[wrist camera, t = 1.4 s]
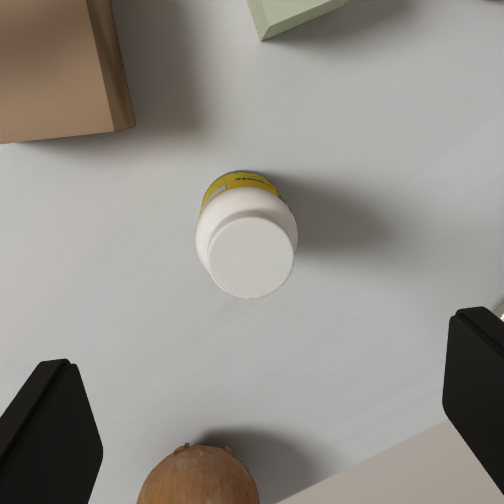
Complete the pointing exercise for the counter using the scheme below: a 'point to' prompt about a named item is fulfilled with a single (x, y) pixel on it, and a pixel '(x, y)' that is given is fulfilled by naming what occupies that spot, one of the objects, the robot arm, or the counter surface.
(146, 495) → the onion
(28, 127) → the walnut block
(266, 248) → the supplement bottle
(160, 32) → the counter surface
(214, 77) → the counter surface
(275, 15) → the sage block
